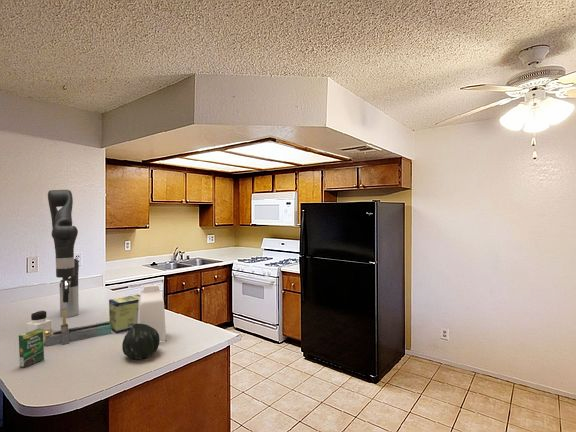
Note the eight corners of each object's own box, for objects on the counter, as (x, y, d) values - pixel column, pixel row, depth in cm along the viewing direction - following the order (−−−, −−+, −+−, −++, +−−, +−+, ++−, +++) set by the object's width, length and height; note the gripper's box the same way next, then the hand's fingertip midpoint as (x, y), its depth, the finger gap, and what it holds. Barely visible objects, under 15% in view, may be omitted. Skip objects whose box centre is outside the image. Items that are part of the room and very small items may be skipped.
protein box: (108, 329, 176) (108, 299, 176) (138, 321, 187) (138, 293, 187) (116, 334, 169) (116, 303, 168) (147, 326, 180) (146, 297, 180)
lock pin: (62, 328, 164) (61, 309, 164) (66, 327, 165) (66, 308, 165) (62, 329, 163) (61, 310, 162) (66, 328, 164) (66, 309, 163)
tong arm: (53, 339, 160) (53, 331, 160) (109, 328, 175) (109, 321, 175) (53, 341, 159) (53, 332, 159) (110, 330, 173) (110, 322, 173)
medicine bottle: (51, 334, 169) (51, 310, 168) (36, 339, 162) (36, 314, 162) (41, 332, 171) (41, 308, 171) (26, 337, 164) (26, 313, 164)
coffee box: (23, 368, 133) (22, 335, 132) (18, 367, 134) (18, 334, 133) (44, 359, 140) (44, 328, 140) (40, 358, 141) (39, 327, 141)
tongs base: (41, 340, 160) (40, 328, 160) (108, 328, 177) (108, 316, 177) (40, 349, 151) (40, 335, 150) (112, 335, 167) (112, 322, 167)
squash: (170, 335, 152) (147, 311, 151) (158, 351, 137) (133, 324, 136) (147, 356, 152) (124, 332, 151) (133, 374, 138) (107, 347, 137)
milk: (138, 346, 154) (138, 289, 154) (137, 337, 165) (136, 284, 164) (166, 341, 160) (165, 287, 159) (163, 333, 170) (162, 282, 169)
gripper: (55, 265, 167) (55, 300, 167) (56, 269, 156) (57, 306, 156) (73, 264, 171) (73, 298, 171) (75, 267, 161) (76, 303, 161)
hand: (65, 302), depth 164 cm, fingers closed
